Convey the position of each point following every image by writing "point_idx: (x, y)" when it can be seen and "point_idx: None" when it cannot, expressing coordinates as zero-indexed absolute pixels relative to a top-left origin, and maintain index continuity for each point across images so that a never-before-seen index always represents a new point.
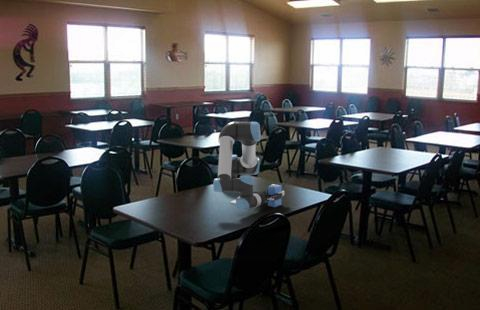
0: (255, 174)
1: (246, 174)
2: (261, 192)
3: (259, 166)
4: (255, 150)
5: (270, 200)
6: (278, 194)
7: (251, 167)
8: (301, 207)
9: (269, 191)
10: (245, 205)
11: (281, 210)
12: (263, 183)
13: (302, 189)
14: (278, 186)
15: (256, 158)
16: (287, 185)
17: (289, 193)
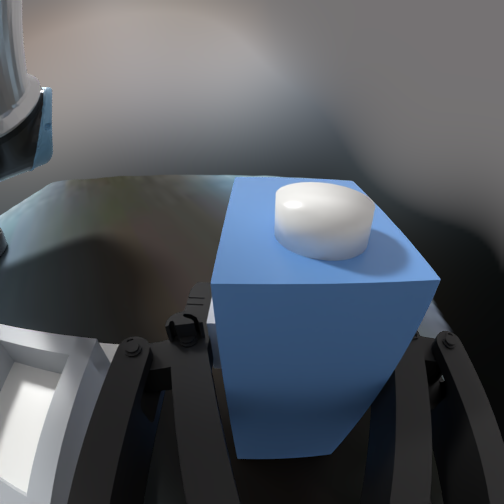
0: (43, 163)
1: (9, 177)
2: (106, 450)
3: (51, 116)
4: (19, 7)
5: (278, 439)
6: (449, 365)
7: (9, 129)
8: (435, 314)
9: (260, 373)
10: None
11: (435, 465)
12: (85, 190)
13: (222, 177)
14: (382, 212)
15: (34, 82)
16: (160, 176)
17: (206, 205)
